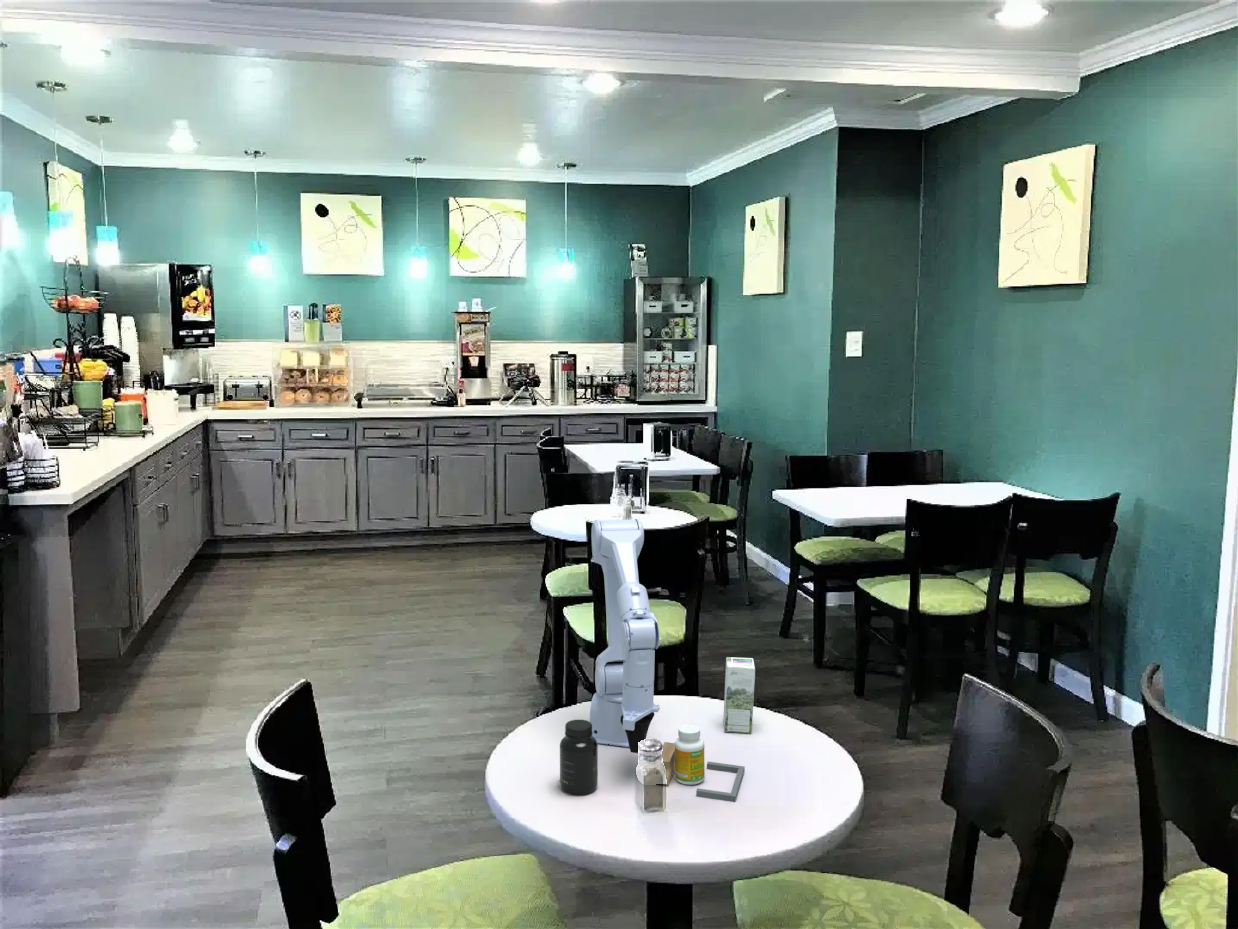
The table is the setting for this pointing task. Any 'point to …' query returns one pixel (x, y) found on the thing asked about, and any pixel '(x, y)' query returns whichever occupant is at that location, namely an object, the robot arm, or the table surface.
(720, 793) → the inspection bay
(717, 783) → the table surface
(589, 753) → the supplement bottle
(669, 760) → the bar
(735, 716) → the syrup box
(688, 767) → the supplement bottle
